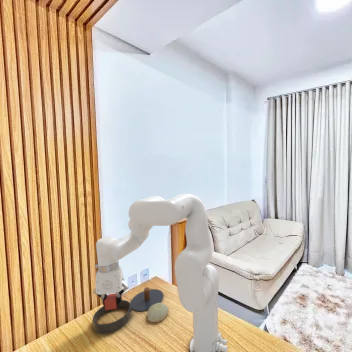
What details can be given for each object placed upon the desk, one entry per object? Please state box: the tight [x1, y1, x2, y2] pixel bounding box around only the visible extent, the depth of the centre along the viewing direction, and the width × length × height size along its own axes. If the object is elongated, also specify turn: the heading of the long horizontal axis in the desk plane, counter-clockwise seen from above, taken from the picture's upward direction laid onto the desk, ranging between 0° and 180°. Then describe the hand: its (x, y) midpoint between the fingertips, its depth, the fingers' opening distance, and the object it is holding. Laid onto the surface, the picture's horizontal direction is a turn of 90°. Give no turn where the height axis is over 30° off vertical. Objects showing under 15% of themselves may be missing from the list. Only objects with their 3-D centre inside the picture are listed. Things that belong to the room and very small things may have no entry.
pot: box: [92, 299, 133, 335], centre depth 92 cm, size 15×15×4 cm
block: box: [104, 293, 117, 310], centre depth 91 cm, size 4×4×4 cm
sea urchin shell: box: [146, 302, 169, 323], centre depth 94 cm, size 9×8×8 cm
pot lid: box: [130, 287, 164, 313], centre depth 104 cm, size 15×15×7 cm
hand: (112, 304), depth 91 cm, fingers closed on block, 4 cm apart
